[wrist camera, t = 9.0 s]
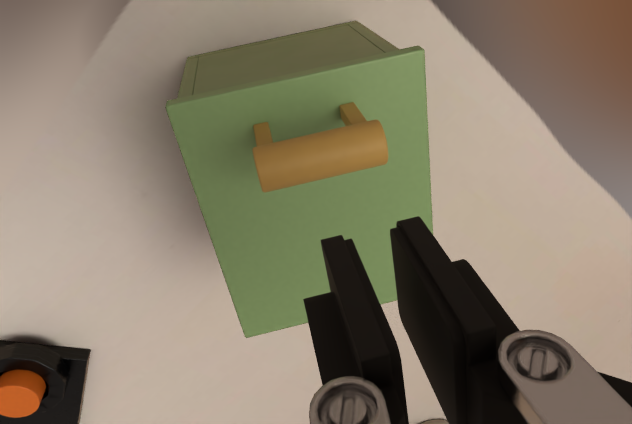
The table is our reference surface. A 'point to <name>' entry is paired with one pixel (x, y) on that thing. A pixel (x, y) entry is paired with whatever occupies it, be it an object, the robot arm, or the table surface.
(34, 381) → the button
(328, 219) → the lid
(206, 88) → the chest
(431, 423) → the coffee cup
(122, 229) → the table surface
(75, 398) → the button housing
